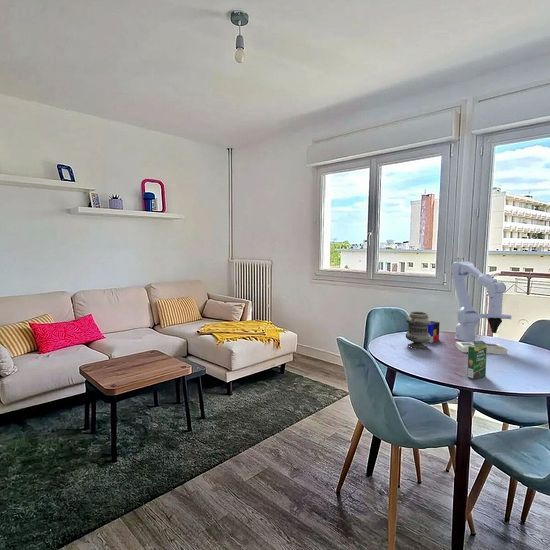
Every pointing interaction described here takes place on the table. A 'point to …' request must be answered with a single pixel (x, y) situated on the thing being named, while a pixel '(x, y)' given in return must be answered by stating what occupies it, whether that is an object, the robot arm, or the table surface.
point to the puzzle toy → (433, 331)
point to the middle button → (479, 342)
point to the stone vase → (418, 329)
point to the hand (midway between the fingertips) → (493, 332)
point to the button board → (489, 348)
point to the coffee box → (477, 361)
